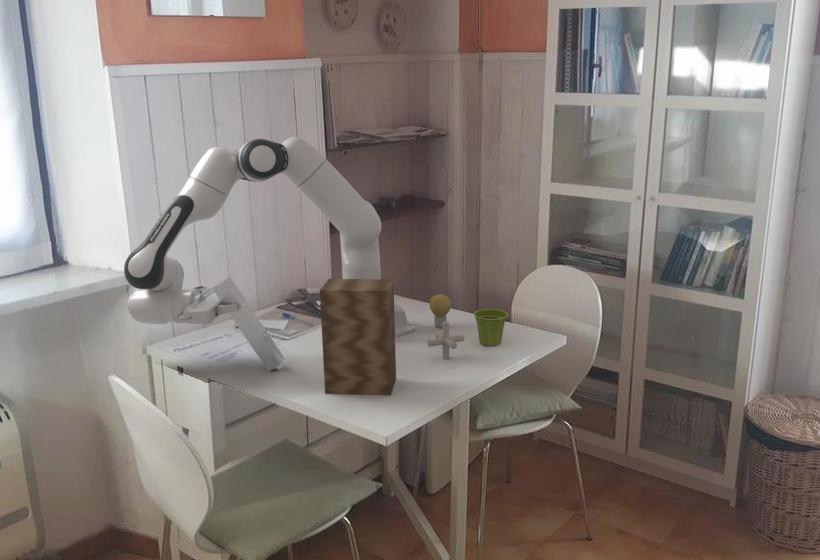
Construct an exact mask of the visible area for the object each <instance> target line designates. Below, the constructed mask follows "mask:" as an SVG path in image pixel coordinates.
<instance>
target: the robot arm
mask: <svg viewBox="0 0 820 560" xmlns="http://www.w3.org/2000/svg"><path fill="white" fill-rule="evenodd" d="M278 174H282V175H284V176H285V177H287V178H288V179H290V181H292V183H293V184H294V185H295V186H296V187H297V188H298V189H299V190H300V191H301V192H302V193H303V194H304V195H305V196H306V197H307V198H308V200H310V201H311V202H312V203H313V204H314V205H315V207H316V208H317V209H319V210H320V212H321V213H322V214H323V215H324V217H325V218H326V219H327V220H328V221H329V222H330V223H331V225H332V226H333V227H334V228H335V229H336V230H337V231H338V232H339V240H340V254H341V271H342V272H341V273H342V279H382V274H381V273H382V272H381V271H382V270H381V256H380V245H379V244H380V243H379V237H380V233H381V232H382V222H381V218H380V216H379V214H378V213H377V210H376V209H375V208H374V206H373V204H372V203H370V202H369V201H367V200H365V199H364V198H363V197H362V196H361V195H360V194H359V192H358V191H357V190H356V189H355V188H354V187H353V186H352V185H351V183H349V181H348V180H347V179H346V178H345V176H343V175H342V174H341V173H340V172H339V171H338V170H337V169H336V168H335V167H334V166H333V165H332V163H331V162H329V160H328V159H327V158H326V157H325V156H324V155H323V154H322V153H321V152H319V151H318V149H316V148H315V147H314V146H312V144H310V143H309V142H307V141H306V140H304V139H303V138H301V137H299V136H292V137H289V138H286V139H285V140H283V142H282V143H279V142H275V141H273V140H268V139H265V138H256V139H252V140H249V141H246V142H245V143H244V144H242V146H241V147H240V148H237V149H236V150H235V151H232V150H229V149H227V148H225V147H221V146H213V147H210V148H209V149H207V151H206V152H204V154H203V155H202V157H201V158H200V159H199V160H198V162H197V163H196V164H195V166H194V168H193V169H192V171H191V173H190V174H189V177H188V178H187V180H186V182H185V184H184V185H183V187H182V188H181V190H180V191H179V192H178V193H177V195H176V196H175V197H174V198H173V199H172V200H171V201H170V203H169V204H168V205H167V206H166V208H165V209H164V210H163V212H162V214H161V215H160V217H159V218H158V220H157V221H156V223H155V224H154V226H153V227H152V229H151V230H150V232H149V233H148V234H147V236H146V238H145V239H144V240H143V242H142V243H141V244H140V245H138V247H137V248H136V249H134V250H133V251H132V252H131V253H130V254H129V255H128V256H127V258H126V260H125V263H124V269H123V271H124V276H125V279H126V281H127V282H128V283H129V285H131V287H133V288H136V289H135V290H134V291H133V292H132V293H131V295H129V297H128V300H127V308H128V312H129V314H130V316H131V317H132V319H133V320H135V322H137V323H140V324H145V325H146V324H147V325H165V324H169V323H175V324H192V325H203V324H204V325H207V324H211V323H213V322H214V321H215V320H216V319H218V317H220V316H221V315H225V314H229V313H230V312H237V311H238V310H239V305H238V304H231V305H223V304H222V302H221V301H220V299H219V298H218V296H217V295H216V293H215V292H214V290H213V289H212V288H213V287H214V286H213V287H208V285H199V286H196V287H192V288H186V289H183V284H184V283H183V282H184V279H185V277H184V276H185V275H184V274H185V273H184V272H185V271H184V268H183V265H182V264H181V263H180V262H179V261H178V260H177V259H174V258H172V257H170V256H167V255H168V253H169V252H170V250H171V249H172V246H173V245H174V244H175V242H176V240H177V238H178V237H179V236H180V234H181V233H182V231H183V230H184V229H185V228H186V227H187V226H189V225H190V224H192V223H196V222H199V221H205V220H209V219H212V218H214V217H215V216H216V215H217V214H218V213H219V211H220V210H221V209H222V207H223V206H224V205H225V202H226V200H227V198H228V196H229V195H230V192H231V191H232V189H233V187H234V185H235V184H236V183H237V182H238V181H239V180H244V181H248V182H257V183H259V182H261V183H262V182H265V181H267V180H270V179H271V178H274V177H275V176H276V175H278ZM245 300H246V301H247V299H246V298H245ZM394 316H395V338H397V337H400V336H403V335H406V334H409V333H411V332H414V331H415V330H416V329H415V325H414V324H413V323H412V322H410V321H408V319H407V315H406V312H405V310H404V308H403V307H401V305H399V304H398V303H396V302H394Z"/></svg>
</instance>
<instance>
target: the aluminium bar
mask: <svg viewBox="0 0 820 560" xmlns="http://www.w3.org/2000/svg"><path fill="white" fill-rule="evenodd" d="M212 289H213V290H214V292H215V293H216V295H217V296H218V298H219V299H220V301H221V302H222V304H223V305H231V304H238V305H239V310H238V311H237V312H230V313H228V314H229V315H230V317H231V319H232V320H233V321H234V323H235V325H236V326H237V327H238V329H239V330H240V331H241V333H242V335H243V336H244V338H245V339H246V341H247V342H248V344H249V346H251V348H252V350H253V351H254V352H255V353H256V355H257V357H258V358H259V360H260V361H261V362H262V364H263V366H264V367H265V368H266V370H267V371H268V372H271V371H273V370H274V369H275V370H276V369H277V368H278V367H279V366H281V365H282V364H283V362H285V360H286V357H284V355H283V354H282V352H281V350H280V349H279V348H278V346H277V344H276V343H275V341H274V340H273V338H272V337H271V336H270V334H269V333H268V331H267V329H266V328H265V326H264V325H263V324H262V322H261V320H260V319H259V317H258V316H257V315H256V313H255V312H254V310H253V308H252V307H251V305H250V304H249V302H248V301H247V299H246V298H245V296H243V293H242V291H241V290H240V289H239V288H238V286H237V284H235V282H234V280H233V278H232V277H231V276H229V277H226V278H225V279H224V280H223V281H220V282H219V283H217V284H215V286H213V288H212ZM245 299H246V300H245Z"/></svg>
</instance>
